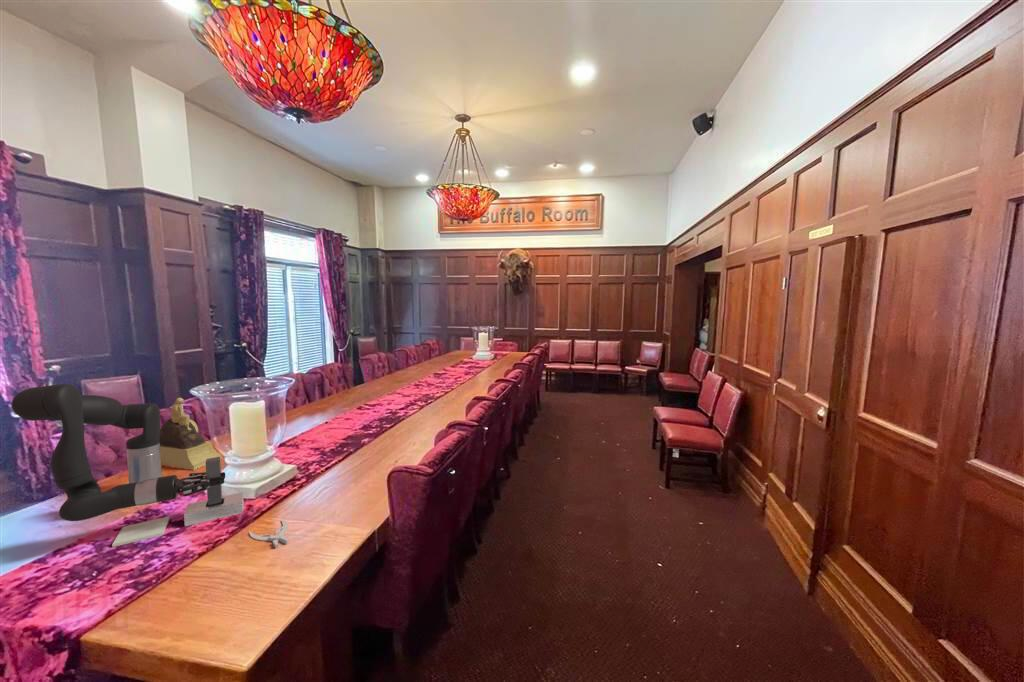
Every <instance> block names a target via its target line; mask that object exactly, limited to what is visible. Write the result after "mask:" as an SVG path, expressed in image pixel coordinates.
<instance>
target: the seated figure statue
mask: <svg viewBox="0 0 1024 682" xmlns="http://www.w3.org/2000/svg"><path fill="white" fill-rule="evenodd" d="M184 401H185V399H183V398H182V397H178V398H176V400H175V402H174V404H173V405H172V407H171V409H170V418H169V419H168V420H166V421H165V422H164V423H163V425H162V426H161V427H160V452H161V465H167V466H174V467H180V468H179V469H181V468H186V469H185V470H188V469H191V470H190V471H196V470H198V469H197V468H199V469H201V468H200V467H202V466H204V467H206V466H205V465H206V460H207V459H209V458H215V457H220V459H221V458H222V456H221V455H222V454H221V453H219V451H216V450H215V449H214V447H213V442H212V441H208V440H207V441H205V439H204V436H202V435H201V434H200V433H199V427H198V425H197V423H196V422H195V421H194V420H193V419H191V418H190V415H189V414H185V413H184V406H183V404H184ZM222 460H224V457H223V458H222ZM167 466H166V467H167ZM174 467H173V468H174ZM202 468H203V467H202ZM195 469H196V470H195Z"/></svg>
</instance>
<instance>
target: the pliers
mask: <svg viewBox="0 0 1024 682" xmlns="http://www.w3.org/2000/svg"><path fill="white" fill-rule="evenodd" d="M280 522H281V525H282V526H281V527H280V528H279V529H277V530H276V532H275V535H272V534H261V535H258V534H256V533H253V532H252V531H249V532H248V533H249V536H250V538H252V539H253V540H257V541H261V542H265V541H266V542H272V546H273V547H274V548H275V549H278V548H279V545H278V544H279V543H282V544H285V545H289V543H290V542H289V541H290V540H289V539H288V538H287V536H285V535H284V534H285V533H286V532H287V531H288V523H287V521H285V519H281V520H280Z"/></svg>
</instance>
